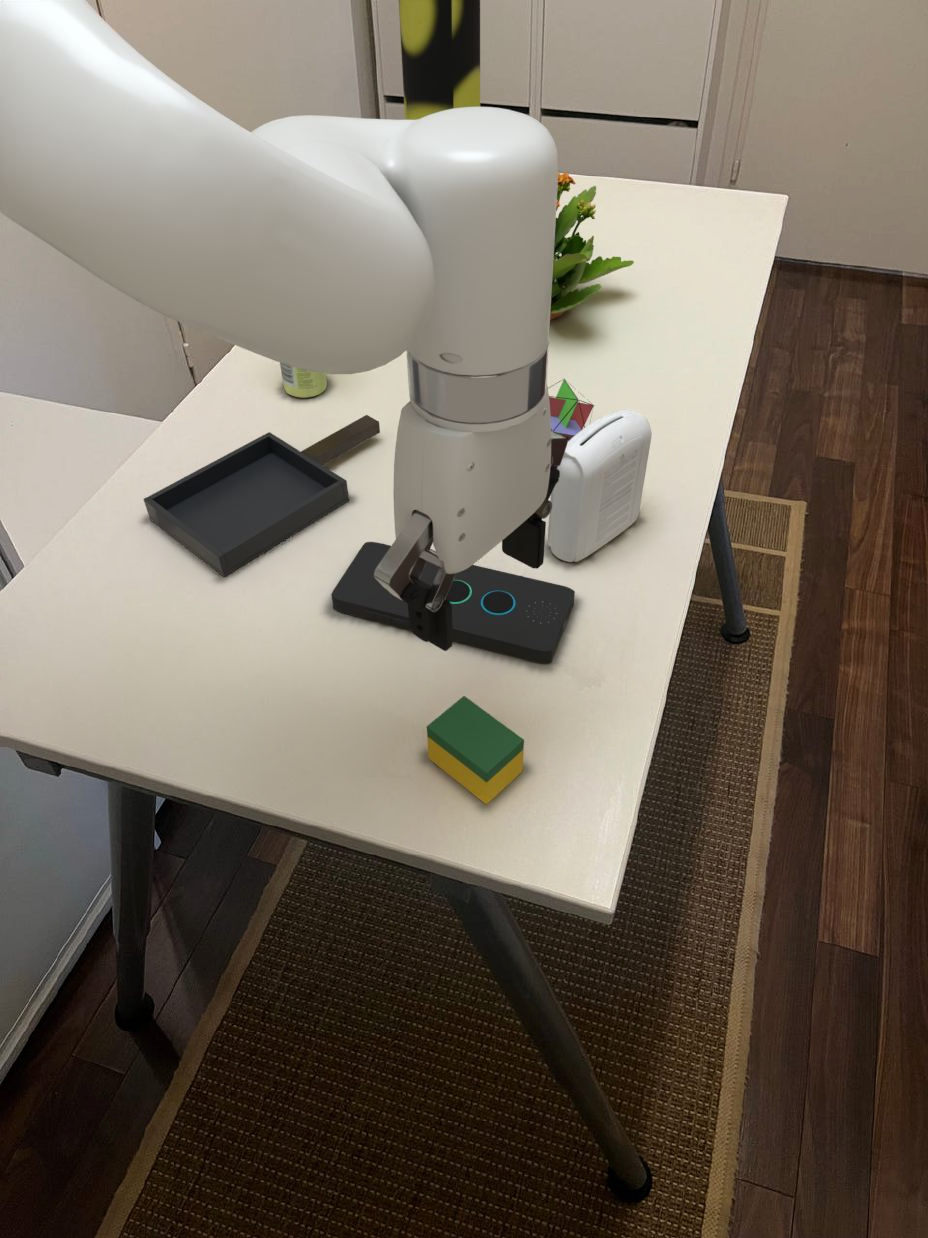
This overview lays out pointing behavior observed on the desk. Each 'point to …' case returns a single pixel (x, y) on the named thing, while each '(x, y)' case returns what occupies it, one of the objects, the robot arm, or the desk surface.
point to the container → (439, 55)
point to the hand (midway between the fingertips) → (478, 597)
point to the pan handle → (343, 440)
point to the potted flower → (576, 252)
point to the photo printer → (599, 484)
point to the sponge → (475, 749)
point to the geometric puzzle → (568, 412)
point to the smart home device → (468, 606)
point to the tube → (302, 381)
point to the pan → (246, 502)
